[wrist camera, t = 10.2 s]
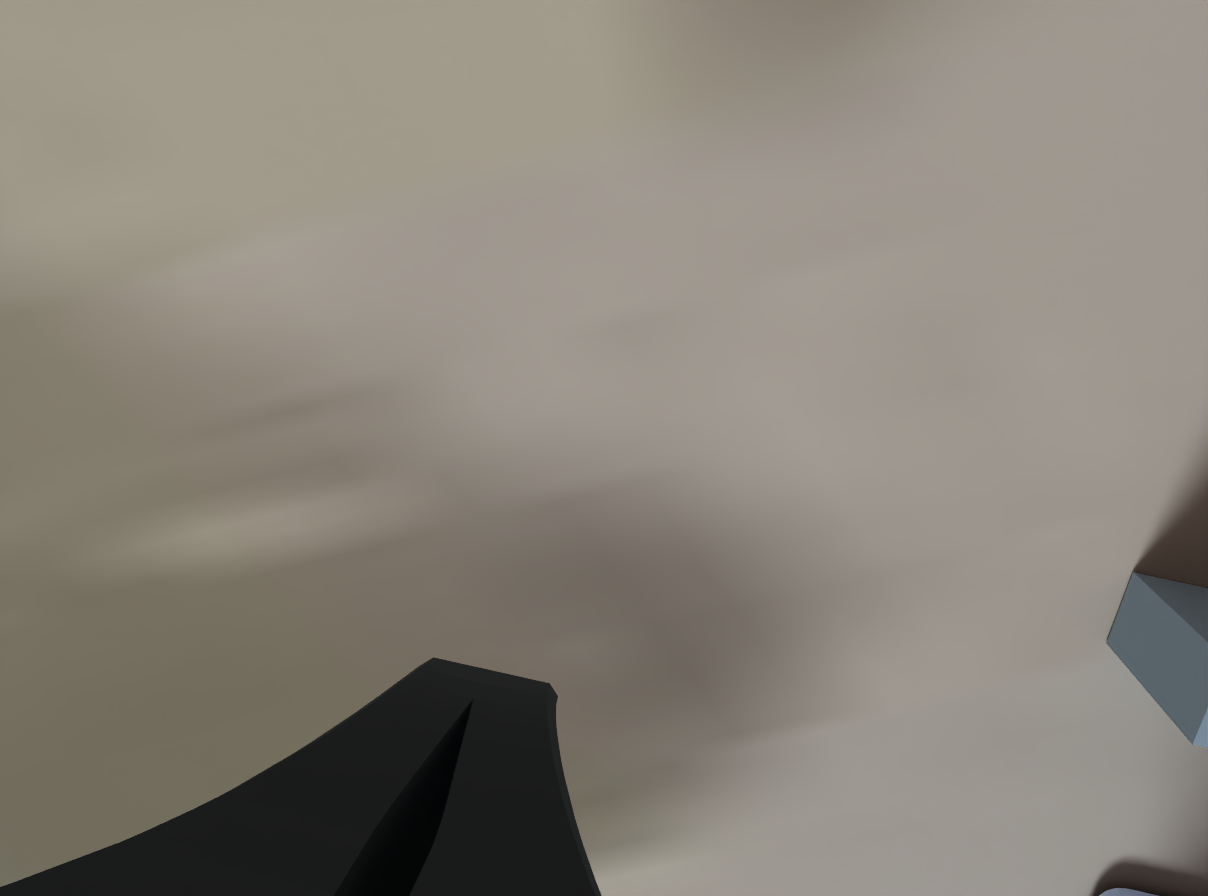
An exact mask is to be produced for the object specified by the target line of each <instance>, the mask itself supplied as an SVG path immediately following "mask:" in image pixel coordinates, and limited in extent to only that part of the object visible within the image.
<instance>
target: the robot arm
mask: <svg viewBox="0 0 1208 896" xmlns="http://www.w3.org/2000/svg"><path fill="white" fill-rule="evenodd" d="M557 698H558V696H557V694H556V693H555V691H554V689H553V688H552V686H551V685H550V683H545V682H541V681H536V680H532V679H528V678H523V677H519V676H514V675H510V674H505V673H501V672H496V671H492V670H487V669H483V668H478V667H474V666H469V665H465V664H460V663H456V662H451V661H447V660H442V659H438V658H432V659H430V660H429V661H427V662H425V663H424V664H422V665H420V666H419V667H418V668H416V669H415V670H413V671H412V672H411V673H409V674H408V675H407V676H405V677H404V678H403V679H401V680H400V681H399V682H397V683H396V684H394V685H393V686H392V687H390V688H389V689H388V690H386V691H385V692H384V693H382V694H381V695H379V696H378V697H377V698H375V699H374V700H372V701H371V702H370V703H368V704H367V705H365V706H364V707H363V708H361V709H360V710H358V711H357V712H356V713H354V714H353V715H351V716H350V717H348V718H347V719H345V720H344V721H342V722H341V723H339V724H338V725H336V726H335V727H333V728H332V729H330V730H329V731H327V732H326V733H324V734H323V735H321V736H320V737H318V738H317V739H315V740H314V741H312V742H311V743H309V744H308V745H306V746H305V747H303V748H301V749H300V750H298V751H297V752H295V753H293V754H292V755H290V756H288V757H287V758H285V759H283V760H282V761H280V762H278V763H276V764H275V765H273V766H271V767H270V768H268V769H266V770H265V771H263V772H261V773H259V774H258V775H256V776H254V777H253V778H251V779H249V780H247V781H246V782H244V783H242V784H241V785H239V786H237V787H236V788H234V789H232V790H230V791H228V792H226V793H225V794H223V795H221V796H219V797H217V798H215V799H213V800H211V801H209V802H207V803H205V804H203V805H201V806H199V807H197V808H195V809H193V810H191V811H189V812H186V813H184V814H182V815H180V816H178V817H176V818H173V819H171V820H169V821H167V822H165V823H163V824H160V825H158V826H156V827H154V828H152V829H150V830H147V831H145V832H143V833H141V834H138V835H136V836H134V837H131V838H129V839H127V840H124V841H122V842H120V843H117V844H114V845H112V846H109V847H106V848H104V849H101V850H98V851H96V852H93V853H90V854H88V855H85V856H82V857H80V858H77V859H75V860H72V861H69V862H67V863H64V864H61V865H59V866H56V867H53V868H51V869H48V870H45V871H43V872H40V873H37V874H35V875H32V876H30V877H27V878H24V879H22V880H19V881H16V882H14V883H11V884H8V885H5V886H2V887H0V896H601V893H600V891H599V888H598V886H597V883H596V881H595V878H594V875H593V872H592V869H591V866H590V863H589V861H588V858H587V855H586V852H585V849H584V846H583V843H582V840H581V837H580V833H579V830H578V827H577V824H576V820H575V817H574V813H573V809H572V805H571V801H570V797H569V793H568V789H567V785H566V781H565V777H564V772H563V767H562V762H561V757H560V750H559V744H558V737H557V727H556V703H557ZM1099 896H1158V895H1153V894H1149V893H1145V892H1140V891H1136V890H1131V889H1127V888H1114V889H1110V890H1107V891H1105V892H1104V893H1102V894H1101V895H1099Z"/></svg>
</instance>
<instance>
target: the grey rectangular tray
mask: <svg viewBox="0 0 1208 896" xmlns="http://www.w3.org/2000/svg"><path fill="white" fill-rule="evenodd" d="M1106 643H1107V644H1108V646H1109V647H1110V648H1111V649H1112V650H1113V652H1114V653H1115V654H1116V655H1117V656H1118V657H1119V659H1120V660H1121V661H1122V662H1123V663H1124V664H1125V666H1126V667H1127V668H1128V669H1129V670H1130V672H1131V673H1132V674H1133V675H1134V676H1135V677H1136V679H1137V680H1138V681H1139V682H1140V683H1141V684H1142V686H1143V687H1144V688H1145V689H1146V690H1147V692H1148V693H1149V694H1150V695H1151V696H1152V697H1153V699H1154V700H1155V701H1156V702H1157V703H1158V704H1159V706H1160V707H1161V708H1162V709H1163V710H1164V712H1165V713H1166V714H1167V715H1168V716H1169V717H1170V719H1171V720H1172V721H1173V722H1174V723H1175V724H1176V726H1177V727H1178V728H1179V729H1180V730H1181V732H1182V733H1183V734H1184V735H1185V736H1186V737H1187V739H1188V740H1189V741H1190V742H1191V743H1192V744H1193V745H1197V746H1202V747H1207V748H1208V588H1205V587H1200V586H1196V585H1191V584H1186V583H1182V582H1177V581H1172V580H1168V579H1163V578H1159V577H1154V576H1149V575H1145V574H1140V573H1135V572H1133V574H1132V576H1131V579H1130V581H1129V584H1128V587H1127V589H1126V592H1125V595H1124V597H1123V600H1122V603H1121V605H1120V608H1119V611H1118V613H1117V616H1116V618H1115V621H1114V624H1113V626H1112V629H1111V632H1110V634H1109V637H1108V640H1107V642H1106Z"/></svg>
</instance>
